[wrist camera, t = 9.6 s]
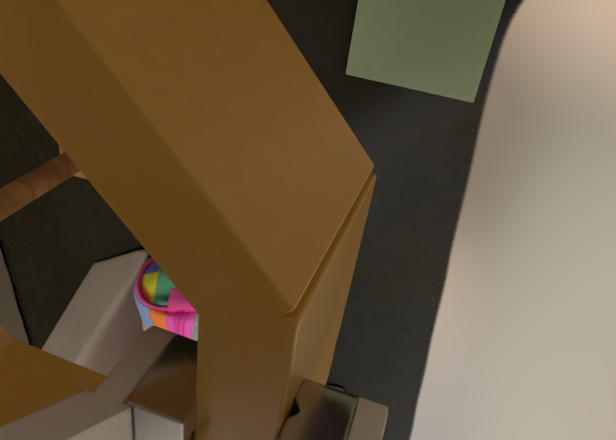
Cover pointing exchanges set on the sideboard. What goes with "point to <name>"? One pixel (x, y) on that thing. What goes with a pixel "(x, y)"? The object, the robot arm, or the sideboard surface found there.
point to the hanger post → (36, 183)
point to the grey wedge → (101, 316)
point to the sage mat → (424, 44)
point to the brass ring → (201, 188)
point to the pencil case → (163, 302)
